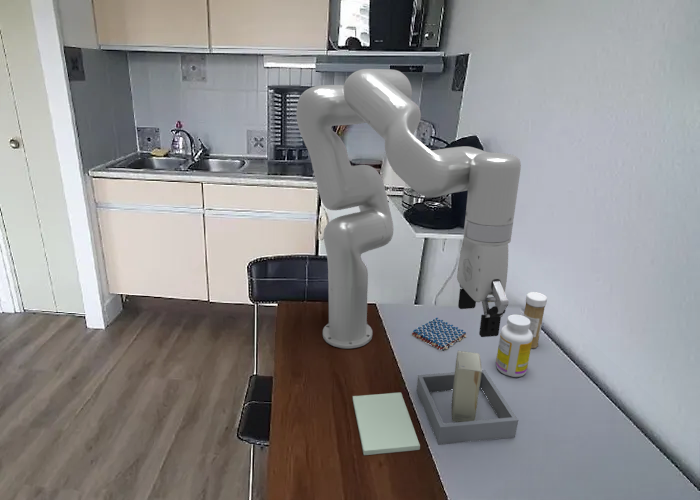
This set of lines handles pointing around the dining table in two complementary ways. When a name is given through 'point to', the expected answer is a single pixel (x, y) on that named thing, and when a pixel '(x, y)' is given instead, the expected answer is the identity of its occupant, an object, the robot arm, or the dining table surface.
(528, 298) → the sprinkles bottle
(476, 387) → the skincare box
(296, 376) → the dining table surface
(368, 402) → the pad
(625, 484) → the dining table surface
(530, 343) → the supplement bottle
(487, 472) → the dining table surface
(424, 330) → the woven mat
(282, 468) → the dining table surface
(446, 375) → the bin
